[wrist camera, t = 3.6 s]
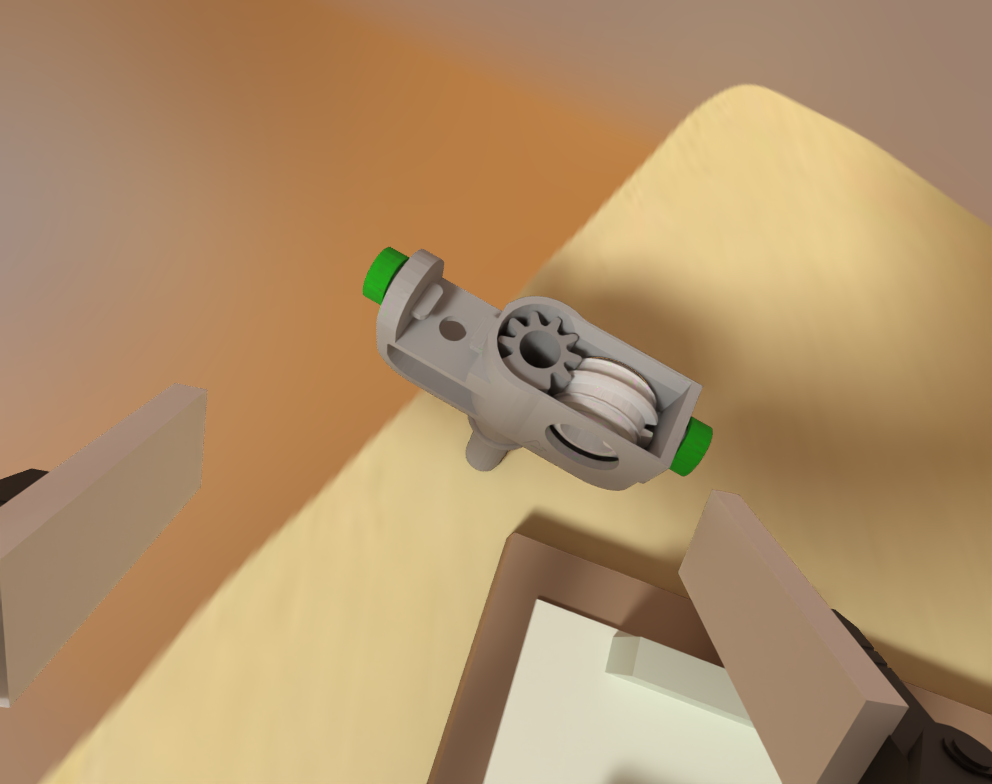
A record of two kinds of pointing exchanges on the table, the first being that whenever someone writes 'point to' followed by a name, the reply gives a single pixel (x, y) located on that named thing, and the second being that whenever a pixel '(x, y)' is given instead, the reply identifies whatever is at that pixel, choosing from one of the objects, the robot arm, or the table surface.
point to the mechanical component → (535, 378)
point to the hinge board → (606, 686)
